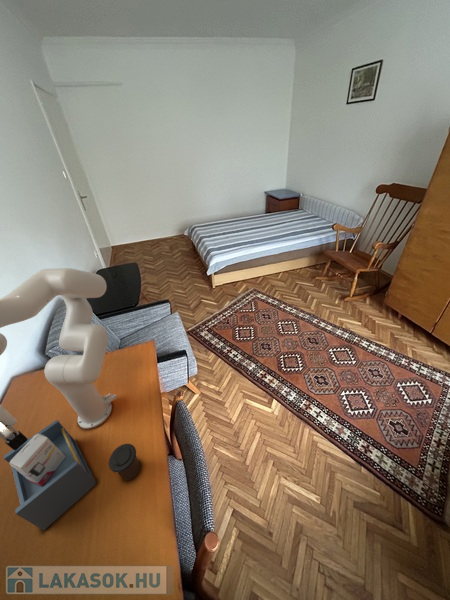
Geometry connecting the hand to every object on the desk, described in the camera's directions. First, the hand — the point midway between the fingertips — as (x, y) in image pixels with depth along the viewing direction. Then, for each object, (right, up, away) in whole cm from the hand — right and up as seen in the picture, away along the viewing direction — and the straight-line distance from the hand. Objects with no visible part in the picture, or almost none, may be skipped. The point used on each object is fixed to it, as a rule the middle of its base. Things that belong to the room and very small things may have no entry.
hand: (12, 435), depth 64 cm
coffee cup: (+26, -19, +14) cm, 36 cm away
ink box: (+3, -15, +9) cm, 18 cm away
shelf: (+4, -22, +14) cm, 26 cm away
